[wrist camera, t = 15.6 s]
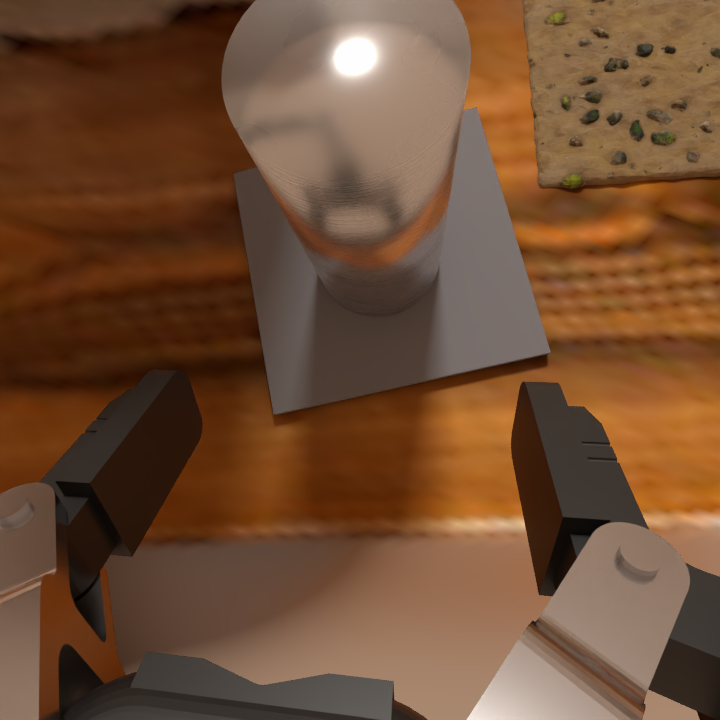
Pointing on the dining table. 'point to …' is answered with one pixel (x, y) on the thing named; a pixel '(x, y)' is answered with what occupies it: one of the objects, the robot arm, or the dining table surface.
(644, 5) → the cookie
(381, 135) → the pale cylinder
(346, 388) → the rubber mat
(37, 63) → the dining table surface
